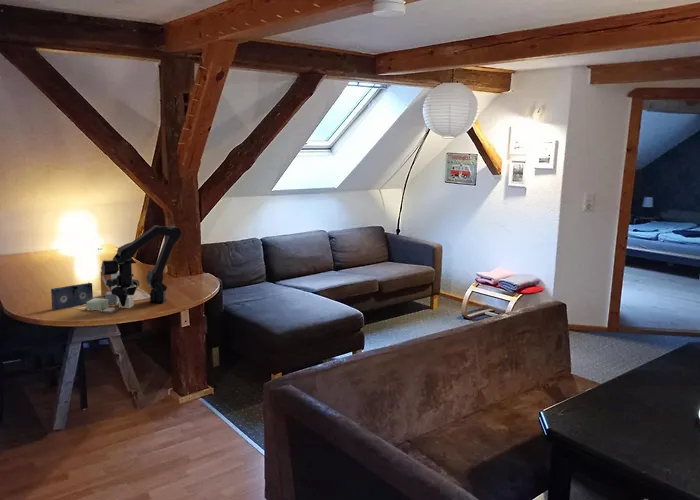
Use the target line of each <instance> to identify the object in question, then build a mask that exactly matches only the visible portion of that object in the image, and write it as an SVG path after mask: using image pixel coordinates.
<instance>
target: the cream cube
mask: <svg viewBox="0 0 700 500" xmlns="http://www.w3.org/2000/svg"><path fill="white" fill-rule="evenodd" d="M134 299H135V298H134V296H133V295H128V297H127V300H126V303H125V306H122V305H121V302H120V300H119V299H118V307H119V308H120V307H121V309H123V308H124V309H130V308H132V307H133V306H134V305H135V303H134V301H135V300H134Z"/></svg>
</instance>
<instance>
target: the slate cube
mask: <svg viewBox="0 0 700 500" xmlns="http://www.w3.org/2000/svg"><path fill="white" fill-rule="evenodd" d="M105 299H108V305H117V304H118V303H119V298H118V296H116V295H113V294H112V292H107V293H106V294H105ZM117 302H118V303H117Z"/></svg>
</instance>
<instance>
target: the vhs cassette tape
mask: <svg viewBox="0 0 700 500" xmlns="http://www.w3.org/2000/svg"><path fill="white" fill-rule="evenodd" d="M93 292H94V291H93V283H92V282H87V283H81V284H73V285H67V286H62V287H54V288H51V289H50V294H51V296H50V298H51V309H52V310H54V311H58V310H64V309H68V308H69V309H70V308H74V306H75V307H79V306H78V305H80V306H83V305H82V304H85V305H86V302H88V301H90V300H92V299H94V297H93Z"/></svg>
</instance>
